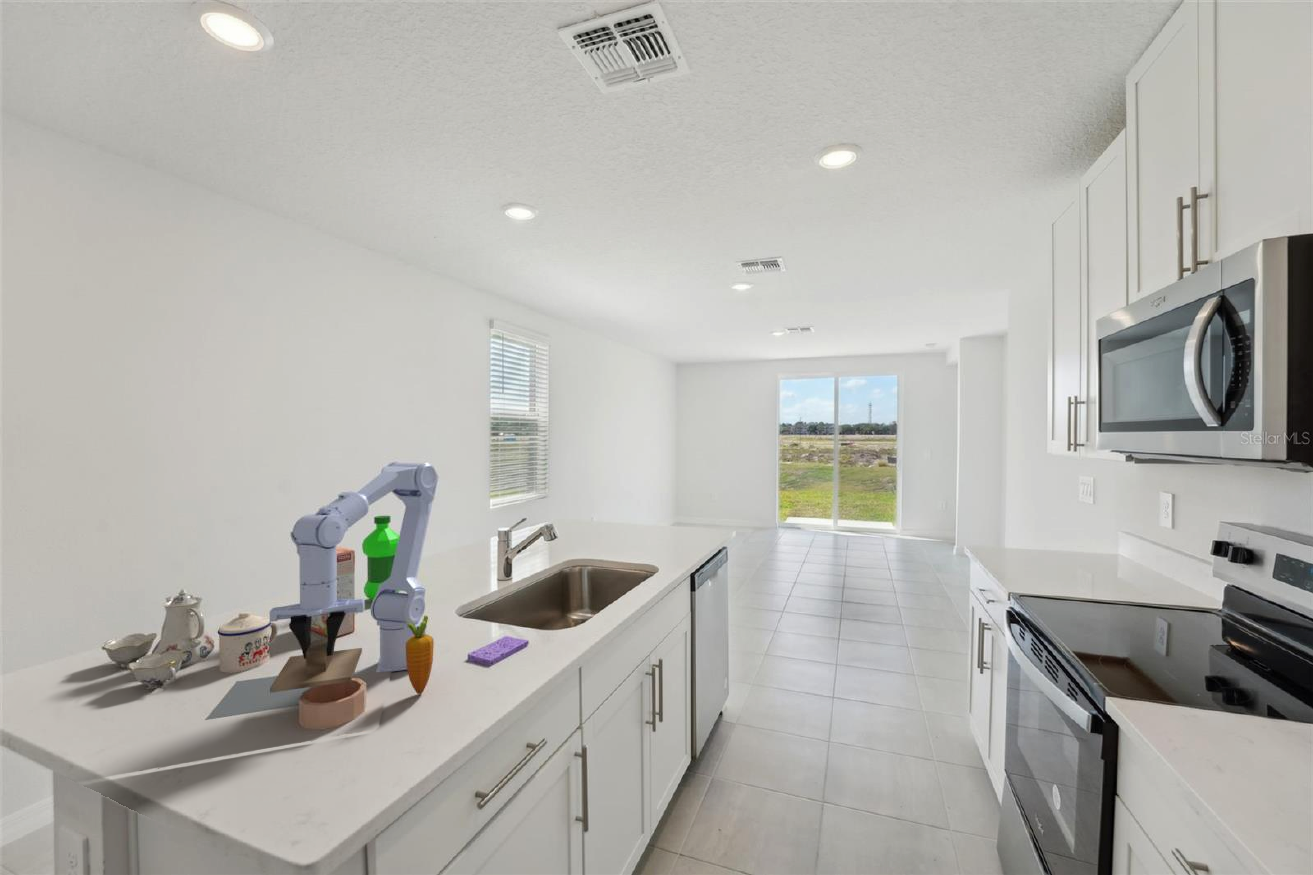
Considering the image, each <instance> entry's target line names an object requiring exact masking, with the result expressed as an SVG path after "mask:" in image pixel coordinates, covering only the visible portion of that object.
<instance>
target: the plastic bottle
mask: <svg viewBox="0 0 1313 875" xmlns="http://www.w3.org/2000/svg"><path fill="white" fill-rule="evenodd" d="M373 518H374V519H373V523H374V525H375V526H376V527H375V529H374V530H373V531H372V532H370V533H369V534H368V535H367V536H366V537H365V538H364V539H363V541H362V545H361V546H362V547H361V548H362V552H363V554H364V555H365V556H367V557H366V558H367V562H366V563H367V568H366V569H367V581H366V582H365V584H364V587H363V593H364V595H365V597H367V599H369V600H370V601H371V602H372V601H373V599H374V597H375V596H376V594H377V591H378V587H379V585H380V584H381V583H383V582H384V581H386V580H387V579H388V578H390V576H391V571H392V567H393V562H394V558H395V553H396V549H397V544H398V540H399V535H400V534H398V533H397V532H396V531H394V530H393V529H391V528H390V527H389V524H390V523H391V515H378V516H377V515H376V516H374V517H373ZM396 593H400V591H399V590H398V591H396Z"/></svg>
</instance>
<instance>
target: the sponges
mask: <svg viewBox="0 0 1313 875" xmlns="http://www.w3.org/2000/svg"><path fill="white" fill-rule="evenodd" d="M529 644H530V642H529V640H528V639H523V638H517V637H512V636H510V635H509V636H508V635H504V636H502V637H501V638H499V639H497V640H495V641H493V642H491V643H488V644H486V645H485V646H482V647H480V648H477V649H476V650H473V651H471V652H469V653H467V661H471V662H475V663H479V664H482V665H487V666H491V667H492V666H493V665H495V664H497V663H499V662H501V661H502V660H504V659H506V658H508V657H510V656H512V655H514V654H516V653H518V652H519V651H521V650H523V649H525V648H527V647H528V645H529Z"/></svg>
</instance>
